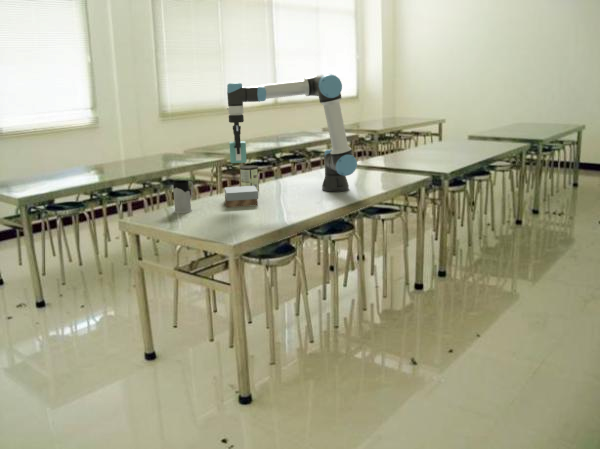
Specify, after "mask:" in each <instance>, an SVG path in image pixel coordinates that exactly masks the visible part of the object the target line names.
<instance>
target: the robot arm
mask: <svg viewBox="0 0 600 449" xmlns="http://www.w3.org/2000/svg"><path fill="white" fill-rule="evenodd" d="M226 87H227V89H226V90H227V91H226V92H227V93H226V95H227V108H226V110H227V111H228V122H229V123H230V124H233V125H232V131H233V132H232V133H233V138H234V139H233V140H234V141H235V146H234V148H235V151H236V161H239V160H241V143H240V141H241V134H242V133H241V130H242V128H241V125H240V123H244V121H245V120H244V119H245V118H244V103H249V102H251V103H252V102H253V103H254V102H255V103H256V102H258V103H260V102H266V99H267V100H268V99H276V98H277V99H278V98H285V97H295V96H296V97H297V96H302V95H305V96H306V97H309V96H310V97H312V96H313V97H314V96H315V97H318V100H319V103H320V104H321V106H323V110H324V115H325V119H326V125H327V129H328V133H329V138H330V144H331V149H326V150H325V151H324V156H323V157H324V179H323V182H322V186H321V189H322V191H324V192H329V193H330V192H331V193H333V192H337V193H338V192H346V191H348V190H350V187H349V186H350V185H349V182H348V179H347V176H350V175H353V174H354V173H355V171H356V170H357V167H358V161H357V159H356V157H355V156H354V155H353V150H352V147H350V146H349V145H348V144H349V143H348V139H347V138H348V137H347V134H346V128H345V124H344V119H343V114H342V109H341V104H340V102H341V100H342V90H343V84H342V81H341V79H340V78H339V77H338V76H336V75H334V74H332V73H326V74H325V73H324V74H322V73H321V74H318V75H315V76H309V77H304V78H303V79H301V80H293V81H291V80H290V81H285V82H284V81H283V82H276V83H266V84H259V85H258V84H257V85H246V86H243V84H242V82H230V83H227V85H226ZM234 141H233V142H234Z"/></svg>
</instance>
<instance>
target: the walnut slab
mask: <svg viewBox="0 0 600 449" xmlns="http://www.w3.org/2000/svg"><path fill="white" fill-rule="evenodd" d="M224 202H225V207H226V208H237V207H238V208H239V207H251V206H250V205H255V206H258V204H259V203H258V199H249V200H234V201H227V199H226V196H225V195H224Z"/></svg>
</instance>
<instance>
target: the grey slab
mask: <svg viewBox="0 0 600 449" xmlns="http://www.w3.org/2000/svg"><path fill="white" fill-rule="evenodd" d="M225 196H226V199H227V201H234V200H249V199H257V200H258V199H259V191H258V190H257V189H256V187H255V186H229V187H224V197H225Z"/></svg>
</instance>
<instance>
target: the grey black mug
mask: <svg viewBox="0 0 600 449" xmlns="http://www.w3.org/2000/svg"><path fill="white" fill-rule="evenodd" d="M190 184H191V192H190V187H189V185H190ZM172 185H173V187H172V188H173V199H174V200H173V201H174V202H173V203H174V214H188V213H191V212H192V211H193V209H192V207H191V206H192V204H191V203H192V202H191V199H192V197H193V192H194V184H193V181H192V180H191V181H189V180H185V179H184V180H183V179H182V180H175V181H173V182H172Z"/></svg>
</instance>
